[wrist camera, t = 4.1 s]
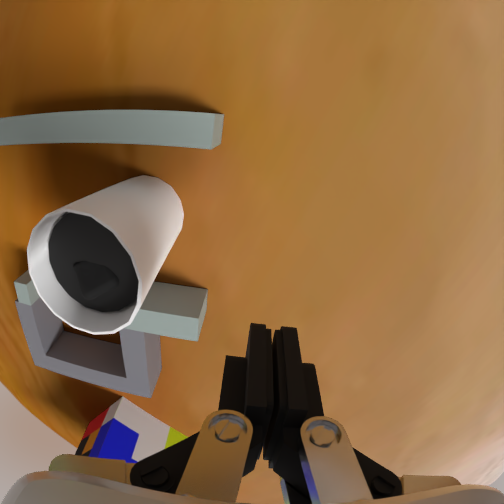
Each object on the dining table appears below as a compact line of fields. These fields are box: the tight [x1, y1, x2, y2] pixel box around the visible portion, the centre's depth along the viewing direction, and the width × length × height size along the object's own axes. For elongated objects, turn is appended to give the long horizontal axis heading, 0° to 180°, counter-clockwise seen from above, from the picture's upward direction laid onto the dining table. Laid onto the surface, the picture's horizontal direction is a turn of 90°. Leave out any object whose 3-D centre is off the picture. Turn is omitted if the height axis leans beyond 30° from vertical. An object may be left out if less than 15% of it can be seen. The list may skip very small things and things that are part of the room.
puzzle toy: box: [75, 396, 188, 463], centre depth 29 cm, size 10×10×10 cm
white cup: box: [27, 175, 184, 335], centre depth 18 cm, size 7×7×10 cm
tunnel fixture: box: [0, 110, 224, 398], centre depth 22 cm, size 30×22×5 cm
